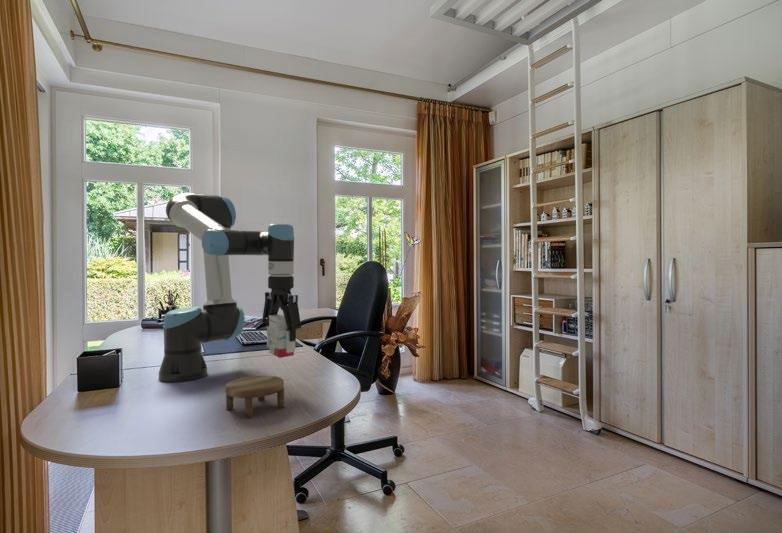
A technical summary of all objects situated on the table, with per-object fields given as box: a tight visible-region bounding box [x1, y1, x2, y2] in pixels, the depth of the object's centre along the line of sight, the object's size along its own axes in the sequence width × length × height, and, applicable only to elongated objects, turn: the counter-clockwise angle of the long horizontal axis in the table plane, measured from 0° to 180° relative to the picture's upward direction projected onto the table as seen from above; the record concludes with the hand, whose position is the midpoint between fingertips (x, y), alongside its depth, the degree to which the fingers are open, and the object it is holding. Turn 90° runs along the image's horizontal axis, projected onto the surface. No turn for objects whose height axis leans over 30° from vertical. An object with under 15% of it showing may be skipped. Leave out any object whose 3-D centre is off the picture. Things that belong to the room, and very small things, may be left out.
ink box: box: [268, 313, 295, 359], centre depth 130 cm, size 9×5×12 cm, turn 34°
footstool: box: [225, 375, 285, 419], centre depth 116 cm, size 15×15×7 cm
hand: (280, 349), depth 131 cm, fingers closed on ink box, 9 cm apart
